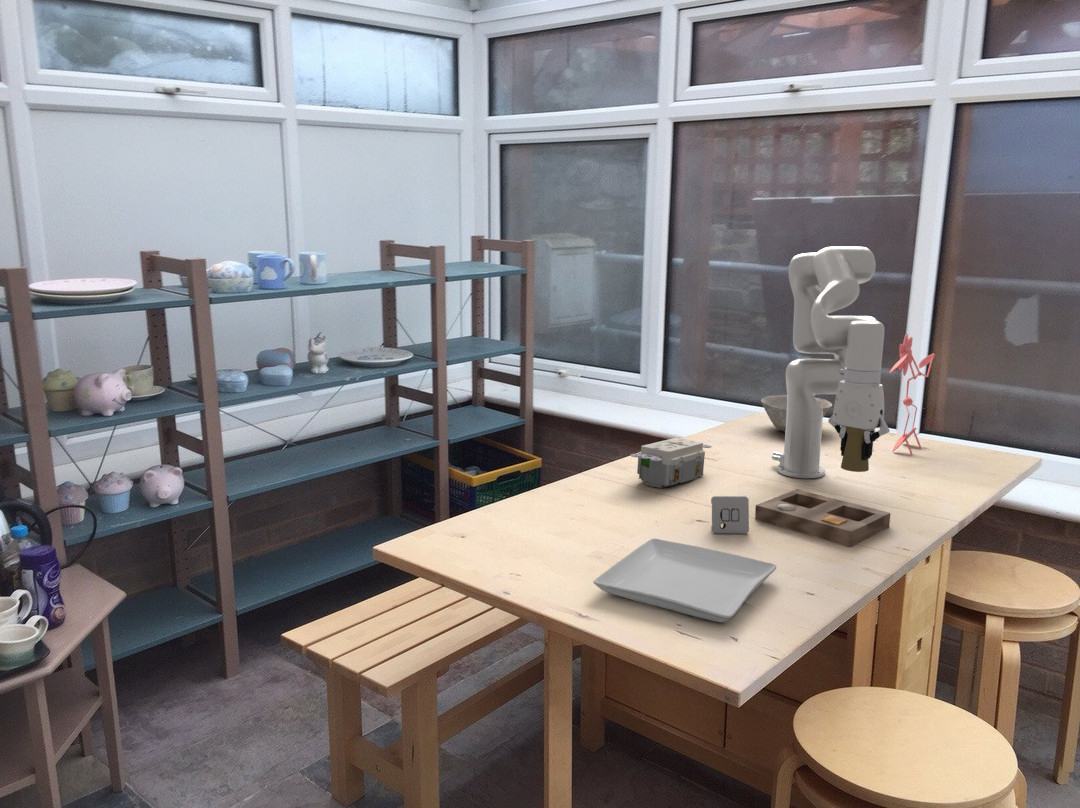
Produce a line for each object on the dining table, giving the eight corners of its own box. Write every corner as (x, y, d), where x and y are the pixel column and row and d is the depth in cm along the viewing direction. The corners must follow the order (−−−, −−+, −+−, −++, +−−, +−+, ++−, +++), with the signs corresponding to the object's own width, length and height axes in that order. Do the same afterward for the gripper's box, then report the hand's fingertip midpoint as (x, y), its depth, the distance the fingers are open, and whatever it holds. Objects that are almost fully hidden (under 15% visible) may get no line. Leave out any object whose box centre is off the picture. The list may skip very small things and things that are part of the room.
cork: (870, 472, 200) (875, 424, 198) (842, 471, 202) (846, 422, 199) (866, 465, 206) (870, 418, 204) (839, 463, 207) (842, 416, 205)
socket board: (754, 519, 212) (755, 503, 211) (796, 502, 224) (797, 487, 224) (850, 547, 195) (851, 530, 195) (889, 527, 207) (890, 511, 207)
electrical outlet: (621, 485, 236) (624, 447, 234) (678, 468, 257) (681, 434, 256) (660, 494, 228) (663, 455, 227) (715, 476, 250) (718, 441, 249)
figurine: (931, 442, 282) (942, 331, 274) (906, 460, 262) (918, 341, 255) (881, 435, 291) (891, 327, 284) (853, 451, 271) (863, 336, 264)
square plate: (590, 599, 170) (590, 579, 169) (651, 552, 193) (652, 535, 192) (729, 635, 156) (730, 614, 155) (777, 580, 179) (778, 561, 178)
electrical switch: (711, 534, 202) (713, 498, 202) (707, 529, 207) (709, 493, 206) (749, 534, 203) (750, 498, 202) (744, 529, 207) (745, 494, 206)
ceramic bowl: (762, 438, 286) (763, 408, 284) (757, 422, 308) (759, 393, 306) (835, 442, 282) (837, 411, 280) (824, 425, 304) (827, 395, 302)
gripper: (818, 373, 203) (813, 452, 207) (891, 384, 191) (883, 468, 195) (835, 369, 208) (829, 447, 212) (907, 380, 196) (899, 461, 200)
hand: (855, 456), depth 203 cm, fingers closed on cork, 4 cm apart
